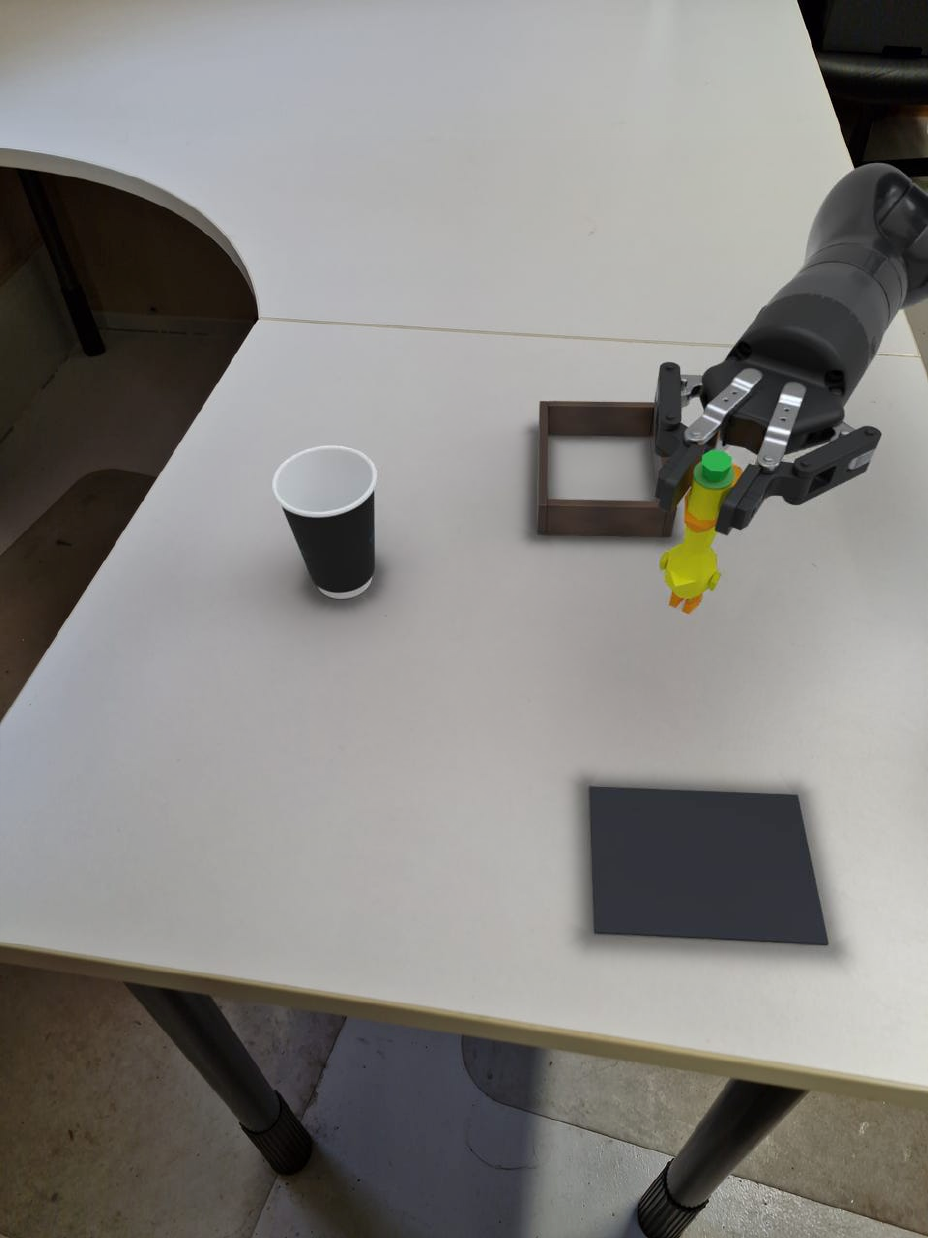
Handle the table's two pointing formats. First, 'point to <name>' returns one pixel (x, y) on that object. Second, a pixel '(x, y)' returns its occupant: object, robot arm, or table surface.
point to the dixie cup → (331, 515)
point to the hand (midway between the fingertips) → (694, 509)
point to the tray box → (598, 513)
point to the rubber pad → (703, 866)
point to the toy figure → (699, 532)
